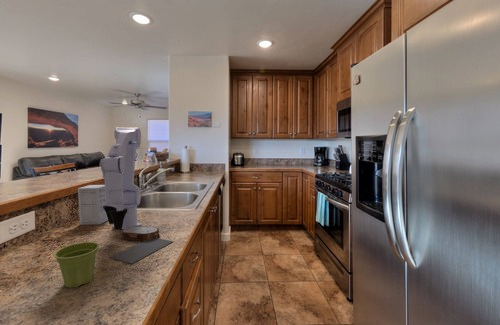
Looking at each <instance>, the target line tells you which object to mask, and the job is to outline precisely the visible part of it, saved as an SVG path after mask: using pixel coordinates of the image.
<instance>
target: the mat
mask: <svg viewBox="0 0 500 325" xmlns="http://www.w3.org/2000/svg"><path fill="white" fill-rule="evenodd" d="M172 243H174V241H173V240H167V239H164V238H163V239H162V238H159V237H157V238H155V239H152V240H146V241H141V242H139V243H137V244H135V245H132V246H131V247H130V246H129V247H127V248H126V249H124V250H121V251H120V252H118V253H115V254H113V255H111V256H108V259H111V260H115V261H118V262H123V263H126V264H130V265H133V264H135V263H137V262H139V261H141V260H142V259H145V258H146V257H148V256H150V255H152V254H154V253H156V252H158V251H160V250H161V249H163V248H165V247H167V246H168V245H170V244H172Z"/></svg>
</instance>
